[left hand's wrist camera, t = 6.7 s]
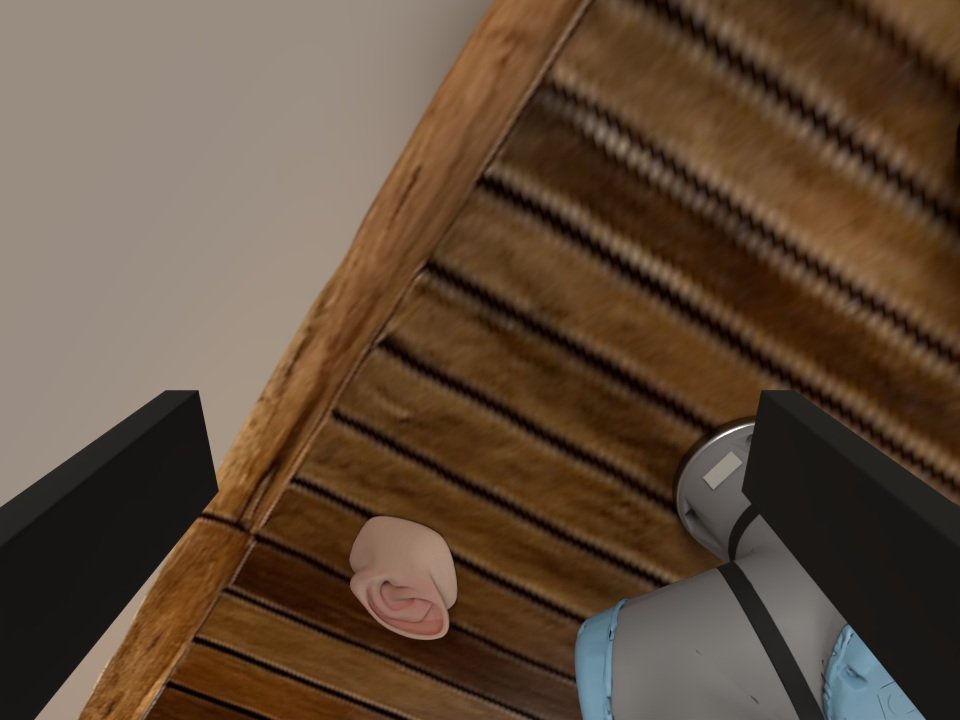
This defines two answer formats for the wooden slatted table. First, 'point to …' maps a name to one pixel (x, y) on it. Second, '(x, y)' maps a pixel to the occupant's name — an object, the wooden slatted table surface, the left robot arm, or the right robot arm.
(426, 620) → the anatomical model
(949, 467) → the wooden slatted table surface
